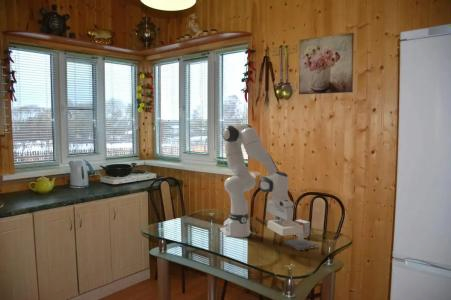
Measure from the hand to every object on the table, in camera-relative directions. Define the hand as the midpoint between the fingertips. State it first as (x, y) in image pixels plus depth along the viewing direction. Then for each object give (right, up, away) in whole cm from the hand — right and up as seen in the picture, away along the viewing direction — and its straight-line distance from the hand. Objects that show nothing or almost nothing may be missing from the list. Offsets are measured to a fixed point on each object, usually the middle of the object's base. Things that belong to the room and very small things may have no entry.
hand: (278, 224), depth 198 cm
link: (+3, -2, -5) cm, 6 cm away
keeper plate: (+15, -15, +9) cm, 23 cm away
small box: (+19, -14, +26) cm, 35 cm away
